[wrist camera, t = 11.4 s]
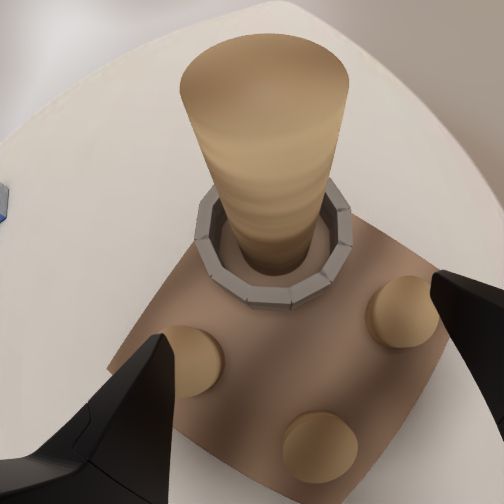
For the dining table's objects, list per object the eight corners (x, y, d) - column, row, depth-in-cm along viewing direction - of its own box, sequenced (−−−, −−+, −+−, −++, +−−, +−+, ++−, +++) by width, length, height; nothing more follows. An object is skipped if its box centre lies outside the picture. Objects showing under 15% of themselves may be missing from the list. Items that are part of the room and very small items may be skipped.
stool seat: (457, 294, 18) (491, 280, 14) (325, 505, 14) (335, 537, 10) (257, 172, 22) (252, 135, 18) (117, 368, 19) (80, 369, 14)
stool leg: (322, 255, 18) (383, 97, 6) (260, 289, 18) (220, 163, 6) (287, 200, 20) (289, 23, 7) (228, 230, 19) (161, 66, 7)
